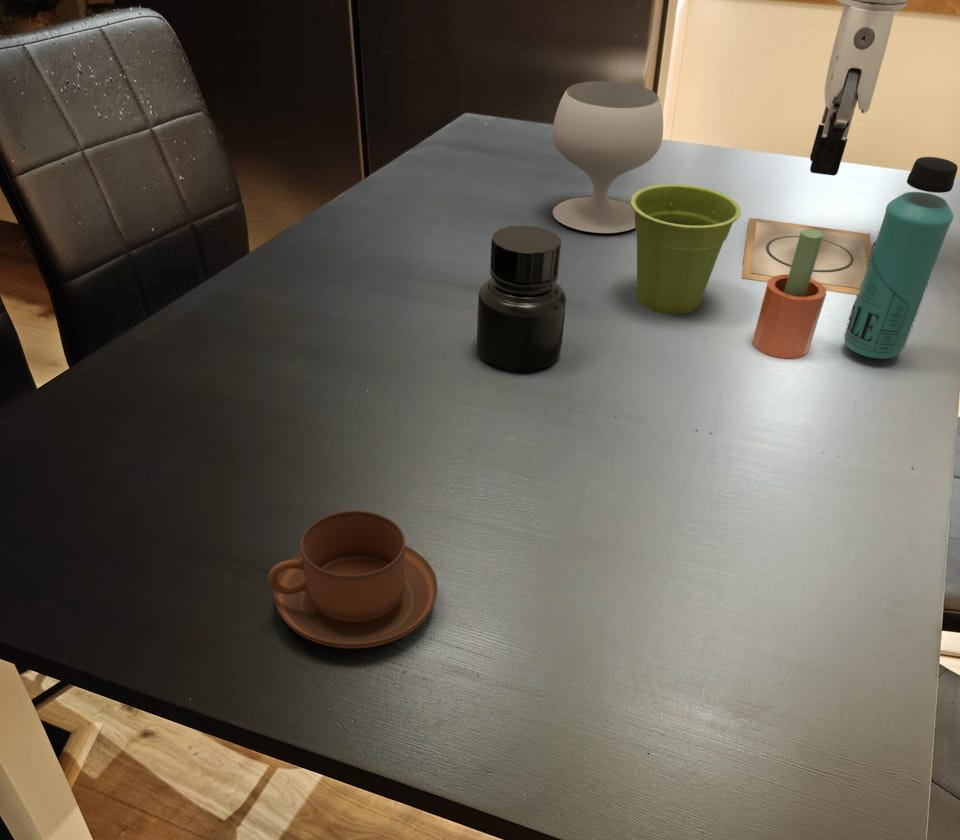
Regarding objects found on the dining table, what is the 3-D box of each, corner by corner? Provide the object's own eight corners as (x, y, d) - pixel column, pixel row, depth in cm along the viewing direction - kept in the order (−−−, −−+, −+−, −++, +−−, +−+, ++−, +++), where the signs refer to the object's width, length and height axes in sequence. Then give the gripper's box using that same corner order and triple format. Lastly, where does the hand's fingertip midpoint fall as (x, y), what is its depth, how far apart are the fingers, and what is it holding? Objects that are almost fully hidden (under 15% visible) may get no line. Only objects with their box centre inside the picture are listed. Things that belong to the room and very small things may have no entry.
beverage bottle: (908, 357, 102) (986, 161, 88) (882, 379, 98) (958, 178, 84) (853, 337, 105) (919, 144, 90) (825, 357, 101) (890, 159, 87)
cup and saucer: (326, 687, 64) (319, 623, 60) (248, 590, 71) (237, 526, 67) (468, 621, 70) (471, 557, 65) (383, 536, 76) (380, 473, 72)
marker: (790, 341, 102) (823, 230, 94) (790, 351, 101) (823, 238, 92) (770, 338, 102) (801, 227, 94) (769, 348, 101) (800, 235, 93)
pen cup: (806, 340, 104) (826, 278, 99) (806, 366, 99) (826, 303, 94) (752, 332, 104) (768, 270, 100) (749, 358, 100) (766, 295, 95)
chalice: (621, 247, 120) (640, 119, 109) (526, 221, 125) (535, 96, 114) (665, 214, 128) (686, 92, 118) (575, 191, 133) (587, 72, 123)
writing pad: (868, 238, 125) (870, 232, 125) (875, 301, 111) (878, 295, 111) (748, 221, 128) (749, 216, 127) (740, 282, 114) (742, 275, 113)
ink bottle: (578, 351, 100) (592, 237, 91) (535, 384, 95) (545, 267, 86) (502, 324, 103) (509, 213, 95) (456, 355, 98) (459, 239, 90)
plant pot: (596, 292, 110) (610, 192, 102) (678, 275, 114) (697, 178, 106) (654, 336, 103) (673, 232, 95) (739, 316, 107) (764, 215, 99)
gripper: (916, 6, 94) (856, 195, 107) (905, -24, 106) (852, 150, 119) (840, -2, 95) (790, 186, 108) (837, -31, 107) (792, 142, 120)
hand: (823, 166), depth 113 cm, fingers open, 3 cm apart
